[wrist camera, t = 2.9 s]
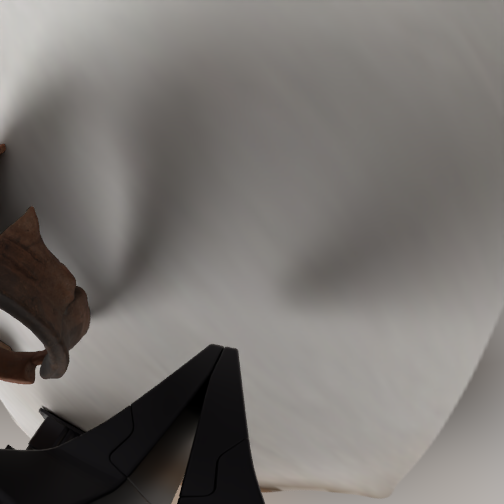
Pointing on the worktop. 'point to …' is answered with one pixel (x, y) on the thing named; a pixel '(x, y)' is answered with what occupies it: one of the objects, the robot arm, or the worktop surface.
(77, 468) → the robot arm
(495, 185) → the worktop surface
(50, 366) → the pottery mug
